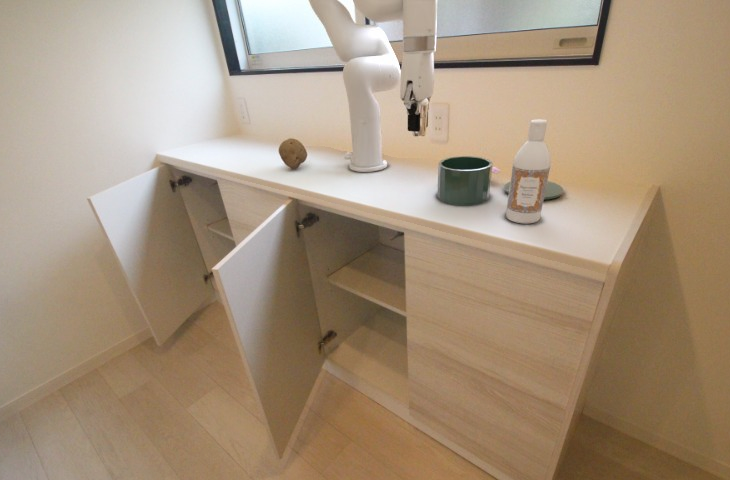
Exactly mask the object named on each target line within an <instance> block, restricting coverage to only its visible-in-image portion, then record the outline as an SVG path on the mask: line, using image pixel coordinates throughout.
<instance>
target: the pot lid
mask: <svg viewBox="0 0 730 480" xmlns="http://www.w3.org/2000/svg"><path fill="white" fill-rule="evenodd" d="M510 182H511V181H509V182H507V183H505V185H504V187H503V188H504V192H505V193H507V194H508V195H509V189H510ZM563 194H564V188H563V187H562V185H560V184H558V183H556V182H552V181H548V180H547V185H546V190H545V196H544V200H552V199H556V198H559V197H561V196H562V195H563Z"/></svg>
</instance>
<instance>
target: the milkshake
mask: <svg viewBox="0 0 730 480" xmlns="http://www.w3.org/2000/svg"><path fill="white" fill-rule="evenodd" d="M411 100H416V99H415V98H412V99H411ZM428 103H429V104H430V102H429V101H428V99H427V98H425V99H423V100H421V101H420V107H419V114H420V131H419V132H414V131H412V137H414V138H422V137H425V136H426V134H427V127H426V124H427V113H428V114H429V110H428ZM412 104H414V105H415V107H416V103H412Z"/></svg>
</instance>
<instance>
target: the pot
mask: <svg viewBox="0 0 730 480" xmlns="http://www.w3.org/2000/svg"><path fill="white" fill-rule="evenodd" d="M492 167H493V161H492V160H490V159H488V158H486V157H482V156H481V157H480V156H475V155H473V156H472V155H459V156H451V157H446V158H444V159H441V160H440V161H438V165H437V169H438V172H437V194H436V195H437V199H438V200H439V201H440V202H441V203H445V204H448V205H451V206H459V207H460V206H463V207H464V206H465V207H466V206H467V207H468V206H469V207H470V206H476V205H481V204H483V203H485V202H487V201H488V199H489V197H490V190H491V184H492V183H491V181H492V174H493V172H492Z"/></svg>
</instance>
